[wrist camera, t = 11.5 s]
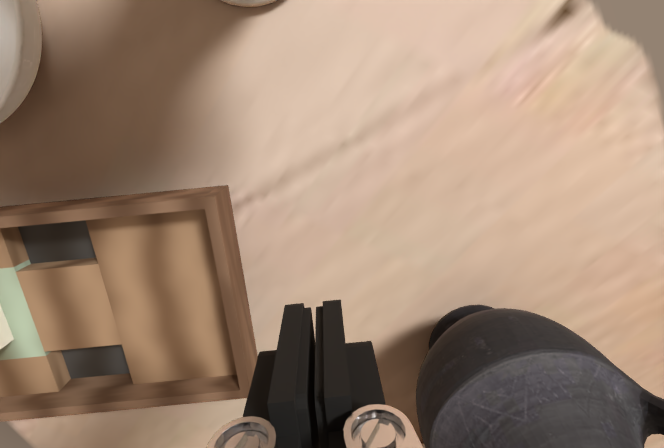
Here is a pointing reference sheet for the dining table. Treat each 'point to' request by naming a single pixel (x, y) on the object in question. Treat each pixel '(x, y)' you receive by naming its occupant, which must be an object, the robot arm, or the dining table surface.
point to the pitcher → (526, 387)
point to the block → (4, 330)
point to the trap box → (123, 304)
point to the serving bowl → (18, 52)
